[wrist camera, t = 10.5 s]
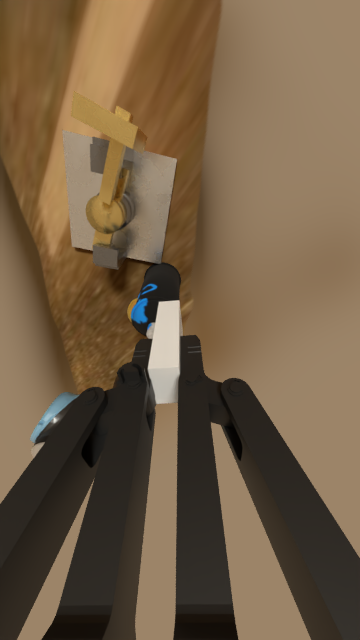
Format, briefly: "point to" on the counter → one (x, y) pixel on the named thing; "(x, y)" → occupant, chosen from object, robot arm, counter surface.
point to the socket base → (138, 185)
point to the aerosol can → (154, 296)
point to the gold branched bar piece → (109, 165)
